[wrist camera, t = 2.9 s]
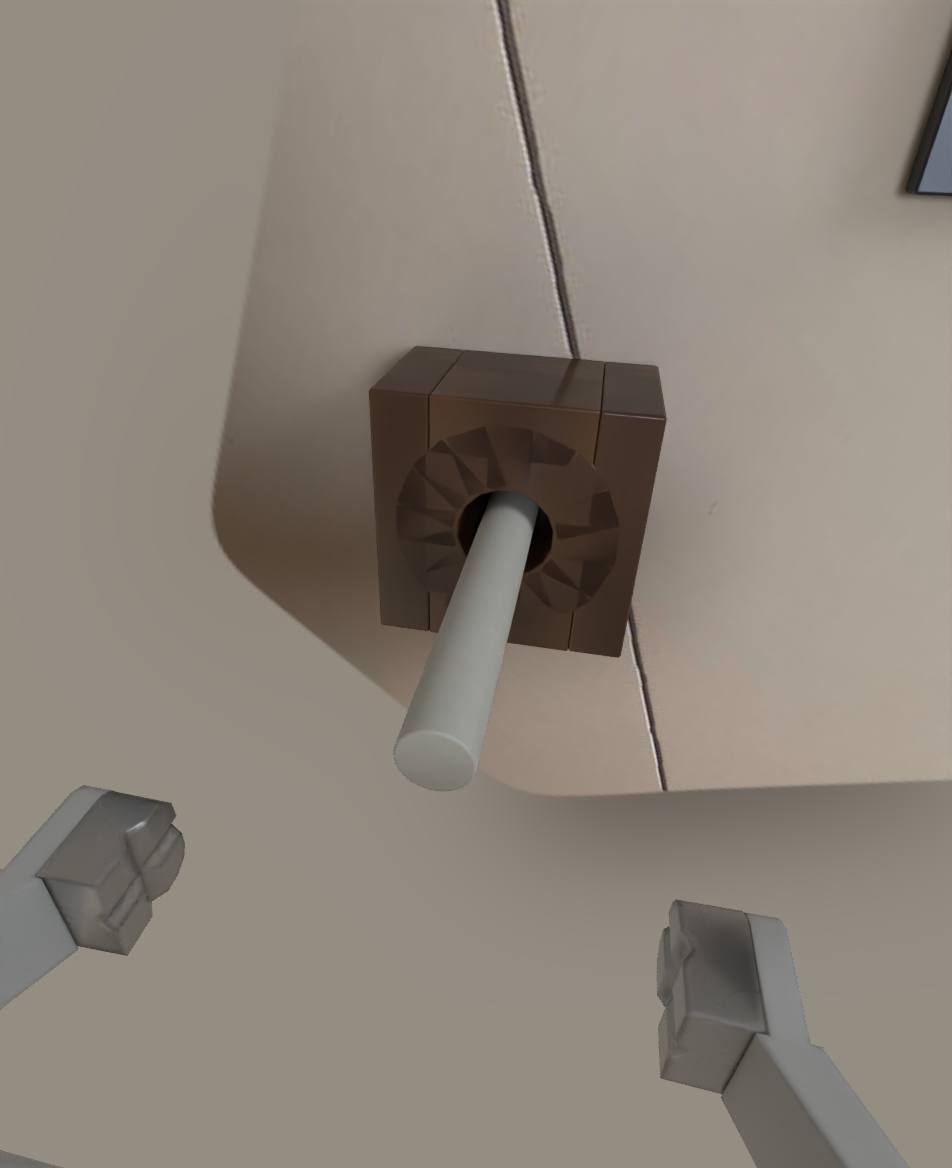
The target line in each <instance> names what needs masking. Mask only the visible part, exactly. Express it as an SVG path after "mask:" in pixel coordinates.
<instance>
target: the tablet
mask: <svg viewBox="0 0 952 1168" xmlns="http://www.w3.org/2000/svg"><path fill="white" fill-rule="evenodd" d="M906 192H907V193H910V194H918V195H940V196H952V51H951V54H950V57H949V60H948V63H947V66H946V69H945V72H944V75H943V78H942V81H941V84H940V87H939V90H938V93H937V96H936V99H935V102H934V105H933V108H932V111H931V114H930V117H929V120H928V123H927V126H926V129H925V132H924V135H923V138H922V141H921V144H920V147H919V151H918V154H917V157H916V160H915V163H914V166H913V169H912V172H911V175H910V178H909V181H908V184H907V187H906Z"/></svg>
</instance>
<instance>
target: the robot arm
mask: <svg viewBox="0 0 952 1168" xmlns="http://www.w3.org/2000/svg"><path fill="white" fill-rule="evenodd" d="M175 817H176V814H175V811H174V809H173V806H172V804H171V803H169V802H164V801H159V800H154V799H149V798H144V797H139V796H133V795H129V794H124V793H119V792H115V791H111V790H106V789H101V788H95V787H90V786H84V785H83V786H81V787H80V788H78V789H76V790H75V791H73V792H72V793H71V794H70V795H69V796H68V797H67V798H66V799H65V800H64V802H63V803H62V804H61V805H60V806H59V807H58V809H57V810H56V811H55V812H54V813H53V814H52V815H51V816H50V818H49V819H48V820H47V821H46V822H45V823H44V824H43V825H42V827H41V828H40V829H39V830H38V831H37V832H36V833H35V834H34V836H33V837H32V838H31V839H30V840H29V841H28V842H27V844H26V845H25V846H24V847H23V848H22V849H21V850H20V852H19V853H18V854H17V855H16V856H15V857H14V858H13V859H12V861H11V862H10V863H9V864H8V865H7V866H6V867H5V868H4V870H1V869H0V1009H1V1008H3V1007H4V1006H5V1005H7V1004H8V1003H9V1002H11V1001H12V1000H13V999H14V998H16V997H17V996H18V995H20V994H21V993H22V992H24V991H25V990H26V989H28V988H29V987H30V986H31V985H33V984H34V983H35V982H37V981H38V980H39V979H41V978H42V977H43V976H44V975H46V974H47V973H48V972H50V971H51V970H52V969H54V968H55V967H56V966H57V965H59V964H60V963H61V962H63V961H64V960H65V959H67V958H68V957H69V956H71V955H72V954H73V953H74V952H76V951H77V950H78V947H77V946H80V947H86V948H91V949H96V950H101V951H106V952H111V953H116V954H121V955H126V956H127V955H128V954H129V952H130V951H131V949H132V948H133V946H134V944H135V943H136V941H137V940H138V938H139V937H140V935H141V933H142V932H143V930H144V929H145V927H146V925H147V924H148V922H149V921H150V919H151V918H152V901H153V900H155V899H156V898H158V897H159V896H161V895H162V894H164V893H165V892H167V891H168V890H169V889H170V887H171V885H172V884H173V882H174V880H175V879H176V877H177V875H178V873H179V870H180V867H181V864H182V861H183V858H184V849H185V843H184V839H183V836H182V833H181V832H180V831H179V830H178V829H177V828H176V827H174V826H173V825H172V824H171V823H172V822H173V820H174V819H175ZM669 919H670V920H669V922H670V926H669V927H667V928H665V929H664V930H663V933H662V936H661V940H660V944H659V952H658V958H657V995H658V997H659V998H660V1000H661V1002H662V1003H663V1005H664V1006H665V1010H664V1013H663V1015H662V1018H661V1021H660V1024H659V1027H658V1032H659V1058H660V1078H662V1079H666V1080H669V1081H674V1082H677V1083H681V1084H685V1085H689V1086H693V1087H697V1088H701V1089H704V1090H708V1091H712V1092H716V1093H720V1094H723V1095H722V1097H721V1098H722V1100H723V1102H724V1104H725V1106H726V1108H727V1110H728V1112H729V1114H730V1116H731V1118H732V1120H733V1122H734V1124H735V1125H736V1127H737V1129H738V1131H739V1133H740V1135H741V1137H742V1139H743V1141H744V1143H745V1145H746V1147H747V1149H748V1151H749V1153H750V1155H751V1157H752V1159H753V1160H754V1162H755V1164H756V1166H757V1168H910V1167H909V1166H908V1164H907V1163H906V1161H905V1160H904V1159H903V1157H902V1156H901V1155H900V1153H899V1152H898V1150H897V1149H896V1148H895V1146H894V1145H893V1144H892V1142H891V1141H890V1140H889V1138H888V1137H887V1135H886V1134H885V1133H884V1131H883V1130H882V1129H881V1127H880V1126H879V1124H878V1123H877V1122H876V1120H875V1119H874V1118H873V1116H872V1115H871V1114H870V1112H869V1111H868V1109H867V1108H866V1107H865V1105H864V1104H863V1103H862V1101H861V1100H860V1099H859V1097H858V1096H857V1094H856V1093H855V1092H854V1090H853V1089H852V1088H851V1086H850V1085H849V1083H848V1082H847V1081H846V1079H845V1078H844V1077H843V1075H842V1074H841V1073H840V1071H839V1070H838V1068H837V1067H836V1066H835V1064H834V1063H833V1062H832V1060H831V1059H830V1058H829V1056H828V1055H827V1053H826V1052H825V1051H824V1049H823V1048H822V1047H819V1046H815V1045H811V1044H810V1039H809V1034H808V1029H807V1024H806V1020H805V1015H804V1010H803V1005H802V1001H801V996H800V991H799V986H798V981H797V976H796V972H795V967H794V962H793V958H792V952H791V948H790V943H789V938H788V933H787V929H786V927H785V926H784V924H783V922H782V921H781V920H780V919H778V918H773V917H767V916H761V915H756V914H749V913H744V912H743V911H739V910H732V909H727V908H722V907H716V906H710V905H704V904H699V903H693V902H687V901H682V900H675V901H674V902H673V903H672V905H671V908H670V911H669ZM0 1168H61V1167H58V1166H54V1165H51V1164H47V1163H44V1162H40V1161H37V1160H33V1159H29V1158H26V1157H22V1156H19V1155H15V1154H12V1153H8V1152H5V1151H1V1150H0Z"/></svg>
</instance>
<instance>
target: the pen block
mask: <svg viewBox="0 0 952 1168" xmlns="http://www.w3.org/2000/svg"><path fill="white" fill-rule="evenodd" d="M369 403H370V422H371V441H372V460H373V479H374V498H375V517H376V536H377V555H378V574H379V593H380V612H381V624H383V625H389V626H396V627H403V628H410V629H417V630H424V631H429V629H430V632H436V633H438V632H439V629H440V627H441V624H442V621H443V619H444V616H445V614H446V611H447V608H448V606H449V603H450V601H451V598H452V595H453V593H454V590H455V588H456V585H457V582H458V580H459V577H460V575H461V572H462V569H463V567H464V564H465V562H466V559H467V556H468V554H469V551H470V549H471V546H472V543H473V541H474V538H475V536H476V533H477V530H478V528H479V525H480V523H481V520H482V517H483V515H484V512H485V510H486V507H487V504H488V502H489V499H490V497H491V494H492V492H493V491H496V490H500V491H509V492H518V493H520V494H522V495H524V496H526V497H528V498H530V499H532V500H534V501H535V502H536V503H537V504H538V505H539V509H538V513H537V517H536V521H535V526H534V530H533V534H532V538H531V542H530V547H529V551H528V555H527V559H526V564H525V568H524V572H523V576H522V580H521V585H520V589H519V593H518V597H517V602H516V606H515V610H514V614H513V618H512V623H511V627H510V631H509V635H508V640H507V643H514V644H521V645H528V646H535V647H543V648H550V649H557V650H564V651H567V650H568V649H569V650H570V651H574V652H582V653H589V654H596V655H603V656H610V657H617V658H618V657H620V656H621V651H622V646H623V641H624V636H625V631H626V626H627V621H628V615H629V610H630V605H631V600H632V595H633V590H634V585H635V579H636V574H637V569H638V564H639V559H640V554H641V549H642V544H643V538H644V533H645V528H646V523H647V518H648V513H649V508H650V502H651V497H652V492H653V487H654V482H655V477H656V472H657V467H658V461H659V456H660V451H661V446H662V441H663V436H664V431H665V425H666V420H667V418H666V412H665V406H664V400H663V393H662V387H661V381H660V375H659V369H658V367H657V366H648V365H636V364H624V363H612V362H607V363H604V362H601V361H589V360H577V359H565V358H553V357H541V356H529V355H516V354H504V353H492V352H480V351H468V350H466V351H464V352H463V351H462V350H455V349H443V348H431V347H418V346H416V347H414V348H413V349H412V350H411V351H410V352H409V353H408V354H407V355H406V356H405V357H404V358H403V359H402V360H400V361H399V362H398V363H397V364H396V365H395V366H394V367H393V368H392V369H391V370H390V371H389V372H388V373H387V374H386V375H384V376H383V377H382V378H381V379H380V380H379V381H378V382H377V383H376V384H375V385H374V386H373V387H372V388H371V389H370V390H369Z"/></svg>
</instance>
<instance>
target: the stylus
mask: <svg viewBox="0 0 952 1168" xmlns="http://www.w3.org/2000/svg"><path fill="white" fill-rule="evenodd" d="M538 509H539V505H538V504H537V503H536V502H535V501H534V500H532V499H530V498H528V497H526V496H524V495H522V494H520V493H518V492H509V491H500V490H496V491H493V492H492V494H491V497H490V499H489V502H488V504H487V507H486V510H485V512H484V515H483V517H482V520H481V523H480V525H479V528H478V530H477V533H476V536H475V538H474V541H473V543H472V546H471V549H470V551H469V554H468V556H467V559H466V562H465V564H464V567H463V569H462V572H461V575H460V577H459V580H458V582H457V585H456V588H455V590H454V593H453V595H452V598H451V601H450V603H449V606H448V608H447V611H446V614H445V616H444V619H443V621H442V624H441V627H440V629H439V632H438V634H437V637H436V640H435V642H434V645H433V647H432V650H431V653H430V655H429V658H428V660H427V663H426V666H425V668H424V671H423V673H422V676H421V679H420V681H419V684H418V686H417V689H416V692H415V694H414V697H413V699H412V702H411V705H410V707H409V710H408V712H407V715H406V718H405V720H404V723H403V725H402V728H401V731H400V733H399V736H398V738H397V741H396V744H395V746H394V753H393V754H394V760H395V763H396V765H397V767H398V769H399V771H400V772H401V773H402V774H403V775H404V776H405V777H406V778H407V779H409V780H410V781H411V782H413V783H415V784H417V785H419V786H421V787H423V788H427V789H430V790H434V791H452V790H457V789H459V788H462V787H464V786H465V785H467V784H468V783H469V782H470V781H471V780H472V779H473V777H474V776H475V773H476V770H477V766H478V762H479V758H480V753H481V749H482V745H483V741H484V737H485V732H486V728H487V724H488V720H489V715H490V711H491V707H492V703H493V699H494V694H495V690H496V686H497V682H498V677H499V673H500V669H501V665H502V661H503V656H504V652H505V648H506V644H507V640H508V635H509V631H510V627H511V623H512V618H513V614H514V610H515V606H516V602H517V597H518V593H519V589H520V585H521V580H522V576H523V572H524V568H525V564H526V559H527V555H528V551H529V547H530V542H531V538H532V534H533V530H534V526H535V521H536V517H537V513H538Z"/></svg>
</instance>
